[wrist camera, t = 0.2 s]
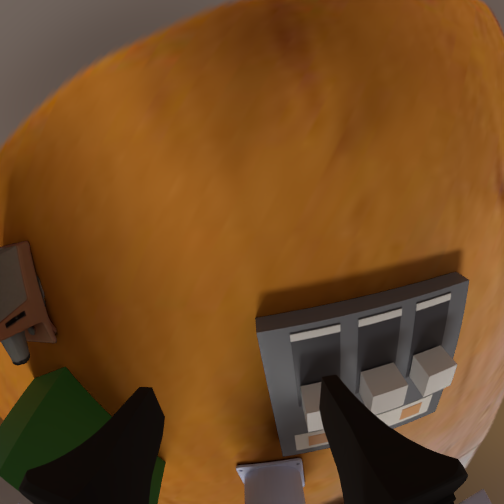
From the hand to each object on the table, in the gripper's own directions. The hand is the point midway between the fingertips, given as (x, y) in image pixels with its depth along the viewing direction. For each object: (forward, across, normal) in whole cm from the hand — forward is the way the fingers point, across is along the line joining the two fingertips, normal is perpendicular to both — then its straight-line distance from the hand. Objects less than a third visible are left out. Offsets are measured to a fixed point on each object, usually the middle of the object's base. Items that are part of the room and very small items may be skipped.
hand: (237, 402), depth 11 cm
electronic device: (+10, +19, -2) cm, 22 cm away
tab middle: (+8, -11, +8) cm, 15 cm away
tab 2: (+8, -16, +8) cm, 19 cm away
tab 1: (+8, -6, +8) cm, 13 cm away
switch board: (+10, -11, +9) cm, 17 cm away
